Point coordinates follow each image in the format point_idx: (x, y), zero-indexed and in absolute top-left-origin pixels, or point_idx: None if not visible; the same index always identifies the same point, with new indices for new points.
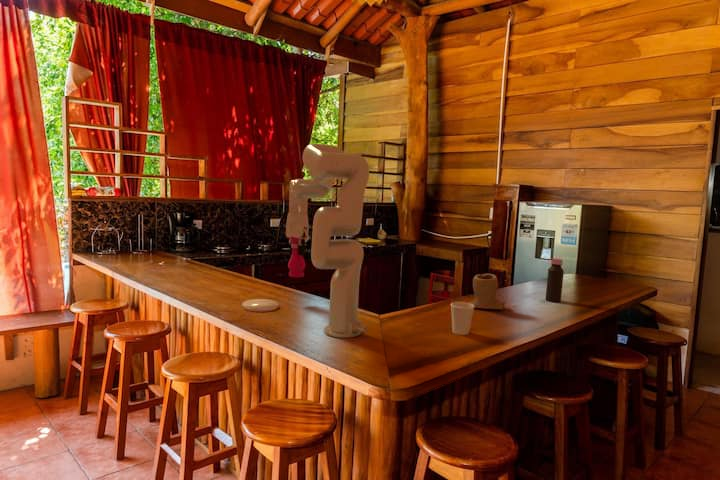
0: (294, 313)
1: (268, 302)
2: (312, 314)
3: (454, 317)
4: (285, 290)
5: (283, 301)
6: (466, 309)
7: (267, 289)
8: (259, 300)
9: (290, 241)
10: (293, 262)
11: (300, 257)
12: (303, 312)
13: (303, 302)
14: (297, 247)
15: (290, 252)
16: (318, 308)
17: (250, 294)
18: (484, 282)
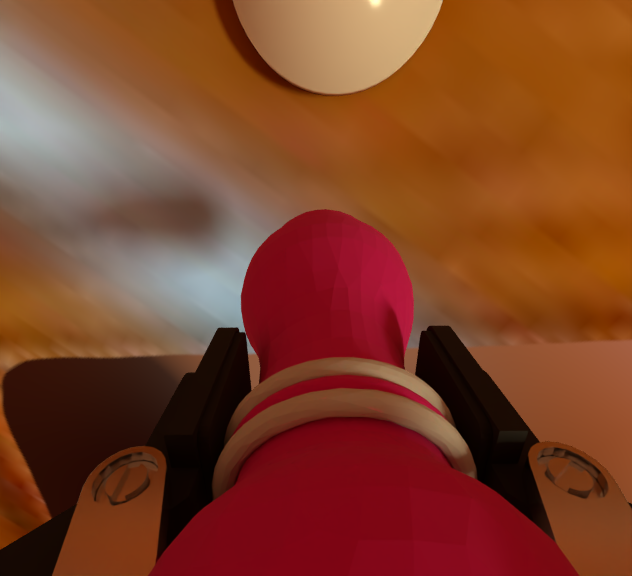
0: (131, 76)
1: (328, 30)
2: (82, 148)
3: None
4: (535, 318)
5: (366, 178)
6: None
7: (620, 259)
8: (401, 6)
9: (549, 495)
10: (285, 247)
11: (256, 346)
12: (131, 132)
13: None
14: (240, 402)
15: (430, 332)
16: (169, 240)
17: (612, 109)
18: None
